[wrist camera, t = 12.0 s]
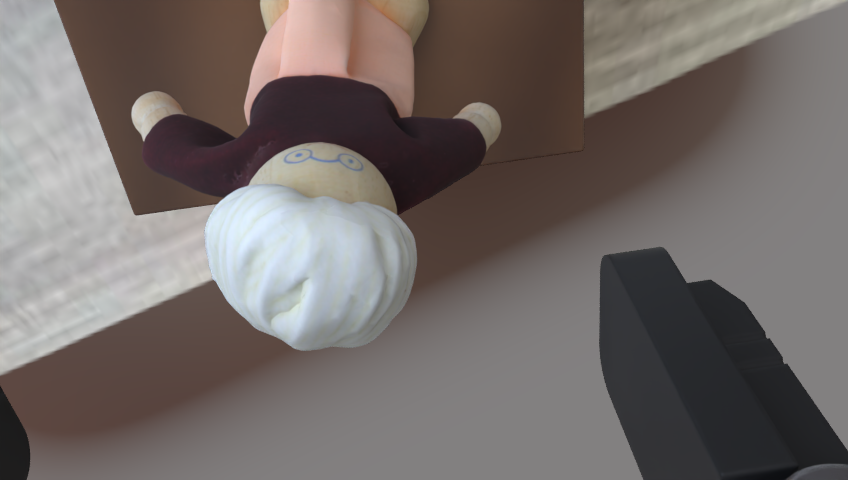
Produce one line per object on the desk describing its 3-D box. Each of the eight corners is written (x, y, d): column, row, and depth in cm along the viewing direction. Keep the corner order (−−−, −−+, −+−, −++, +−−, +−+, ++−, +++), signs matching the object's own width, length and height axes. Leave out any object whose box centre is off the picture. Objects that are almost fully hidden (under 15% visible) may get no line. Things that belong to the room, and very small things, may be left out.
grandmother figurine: (458, -73, 21) (579, 152, 10) (470, 67, 23) (581, 373, 12) (162, -31, 21) (-25, 240, 10) (203, 106, 23) (83, 447, 12)
